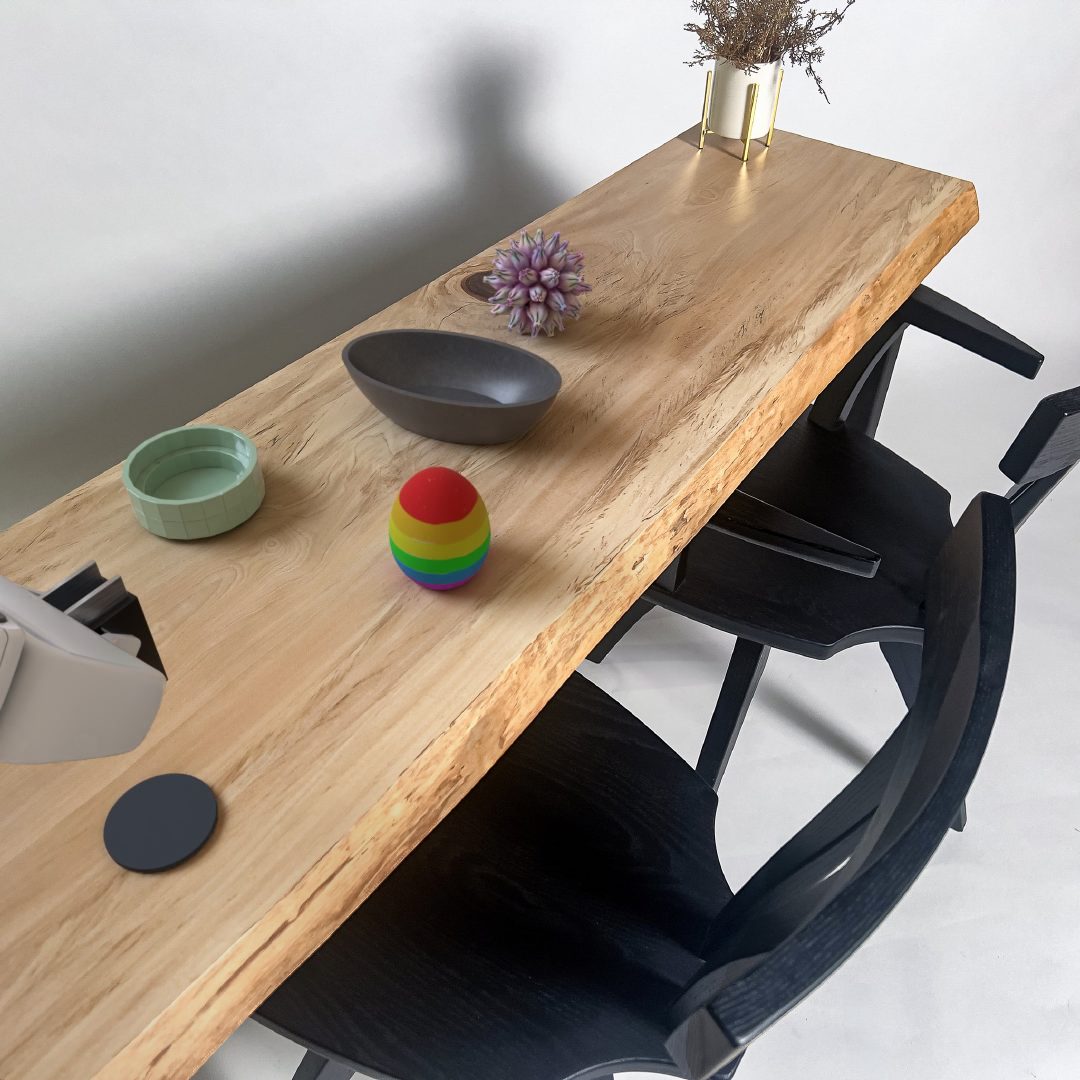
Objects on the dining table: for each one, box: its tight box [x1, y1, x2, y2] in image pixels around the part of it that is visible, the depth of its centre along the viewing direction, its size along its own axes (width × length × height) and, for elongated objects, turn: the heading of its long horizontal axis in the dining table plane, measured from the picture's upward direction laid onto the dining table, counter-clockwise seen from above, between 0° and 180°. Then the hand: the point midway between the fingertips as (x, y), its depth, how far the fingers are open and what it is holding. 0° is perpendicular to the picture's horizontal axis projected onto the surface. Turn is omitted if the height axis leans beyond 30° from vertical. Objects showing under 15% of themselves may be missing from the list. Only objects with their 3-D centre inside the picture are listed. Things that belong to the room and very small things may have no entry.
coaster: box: [102, 772, 219, 874], centre depth 62 cm, size 7×7×1 cm
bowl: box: [341, 328, 563, 446], centre depth 94 cm, size 12×22×6 cm, turn 71°
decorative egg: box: [388, 466, 492, 591], centre depth 77 cm, size 8×8×10 cm
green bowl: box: [121, 423, 266, 540], centre depth 85 cm, size 11×11×4 cm
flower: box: [482, 228, 593, 340], centre depth 106 cm, size 12×12×12 cm
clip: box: [38, 559, 169, 682], centre depth 53 cm, size 5×3×9 cm, turn 147°
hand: (101, 632), depth 53 cm, fingers closed on clip, 3 cm apart
